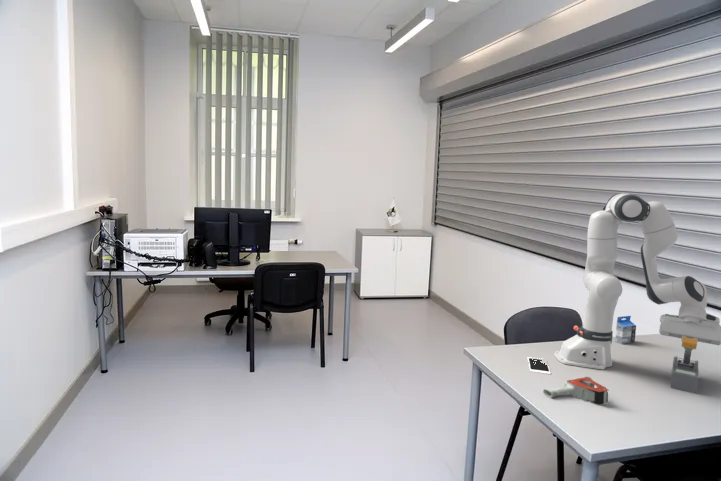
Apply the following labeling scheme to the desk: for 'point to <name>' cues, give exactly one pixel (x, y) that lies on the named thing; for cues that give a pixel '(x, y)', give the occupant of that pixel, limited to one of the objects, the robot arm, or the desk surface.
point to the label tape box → (625, 330)
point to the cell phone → (538, 366)
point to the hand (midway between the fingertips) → (688, 348)
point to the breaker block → (684, 376)
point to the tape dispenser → (581, 390)
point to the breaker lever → (688, 351)
